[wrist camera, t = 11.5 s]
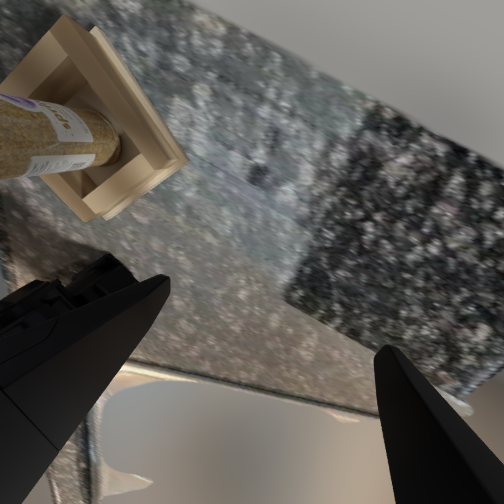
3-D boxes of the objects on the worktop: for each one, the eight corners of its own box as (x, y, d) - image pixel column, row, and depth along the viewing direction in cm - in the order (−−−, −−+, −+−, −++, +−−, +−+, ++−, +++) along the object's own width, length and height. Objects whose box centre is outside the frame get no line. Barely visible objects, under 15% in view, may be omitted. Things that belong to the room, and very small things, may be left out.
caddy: (111, 218, 23) (84, 229, 19) (20, 117, 19) (-35, 108, 15) (190, 160, 20) (176, 161, 17) (104, 32, 17) (62, -2, 13)
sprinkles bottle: (117, 112, 18) (-178, 48, 6) (126, 169, 20) (-76, 208, 8) (63, 106, 18) (-345, 28, 6) (78, 164, 20) (-198, 194, 8)
